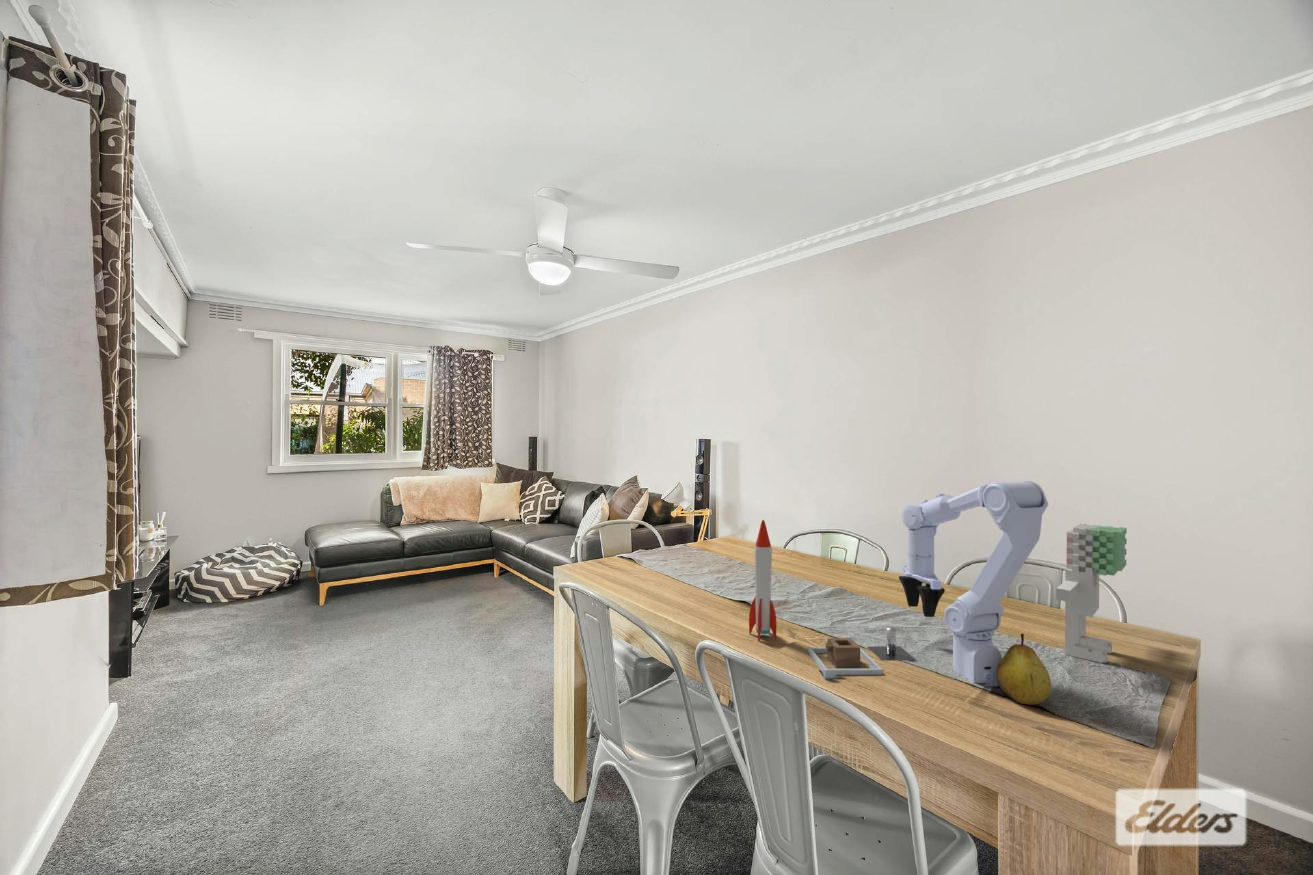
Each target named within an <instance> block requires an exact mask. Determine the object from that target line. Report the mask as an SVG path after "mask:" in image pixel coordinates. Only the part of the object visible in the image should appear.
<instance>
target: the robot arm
mask: <svg viewBox="0 0 1313 875" xmlns="http://www.w3.org/2000/svg"><path fill="white" fill-rule="evenodd" d="M979 507H981V508H985V509H986V510H987V513H989V515H990V516H991V518H992V519H993V522H994V523H995V524H996V526H997V527H998V529H999V530H1001V531H1002V535H1001V537H1000V539H999V541H998V542H997V543H996V546H995V547H994V548H993V551H992V553H991V554H990V556H989V557H988V559H987V561H986V562H985V564H984V566H982V568H981V571H980V573H979V574H978V576H977V578H976V579H975V581H974V583H973V584H972V586H971V588H970V590H968V591H967V592H965V593H963V594H961V595H960V596H958V597H957V598H956V599H955V601H954V602H953V603H952V604H948V605H947V606H946V607H945V609H944V615H943V616H944V617H943V619H944V622H945V624H946V627H947V628H948V629H949V630H950V633H951V634H952V669H953V671H954V672H955V673H957V674H958V675H962V676H963V677H965V678H966V679H968V680H969V682H971V683H974V684H985V685H984V687H1000V685H999V683H998V681H997V676H996V671H997V667H998V665H999V663H1000V661H1001V659H1002V658H1003V656H1002V653H1001V651H1000V650H999V648H998V647H996V646H995V644H994V642H993V638H992V637H994V636H995V631H996V630H998V629H999V627H1000V625H1001V618H1002V614H1003V612H1005V611H1004V610H1005V608H1004V606H1003V605H1002V604H1001V600H1002V599H1003V597H1004V595H1005V594H1006V592H1007V590H1008V589H1009V588H1010V586H1011V585H1012V583H1013V581H1014V580H1015V578H1016V577H1017V575H1018V574H1019V572H1020V570H1021V568H1022V567H1023V565H1024V564H1025V563H1026V560H1027V559H1028V558H1029V556H1030V555H1031V553H1032V551H1033V550H1034V548H1035V547H1036V545H1037V543H1039V540H1040V537H1041V530H1042V521H1043V515H1044V513H1045V512H1046V509H1047V508H1048V507H1049V501H1048V500H1047V497H1046V495H1045V492H1044V490H1043V488H1042V487H1041V486H1040V485H1039V484H1038V483H1037V482H1034V481H1031V480H1026V481H1018V482H1017V481H1015V482H997V481H996V482H994V481H993V482H990V483H989V484H981V485H980V486H978V487H975V488H972V489H970V490H968V491H966V492H964V493H961V494H958V495H957V496H952V495H950V494H945V493H938V494H936V495H935V498H933V499H930V500H929V499H925V500H924V499H923V500H922V501H921V503H920V504H912V503H911V504H908V505H907V506H905V507H904V509H903V511H902V514H901V515H902V516H901V517H902V522H903V524H904V525H905V527H906V528H907V565H902V575H901V576H898V579H899V581H900V583H901V585H902V587H903V590H904V594H905V599H906V603H907V606H908V607H919V603H920V598H921V605H922V614H923V617H925V618H934V617H935V614H936V612H937V608H938V605H939V602H940V599H941V598H942V596H943V595H944V594H945V588H943V587H942V580H941V579H939V578H938V576H937V575H936V573H935V536H936V534H937V528H938V527H939V525H941V524H944V523H947V522H952V521H954V520H957V519H958V518H959V517H960V516H961V514H962V512H965V511H968V510H972V509H975V508H979ZM923 584H924V585H923Z"/></svg>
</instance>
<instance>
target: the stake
mask: <svg viewBox="0 0 1313 875" xmlns="http://www.w3.org/2000/svg"><path fill="white" fill-rule="evenodd" d="M885 633H886V641H885V642H886V643H885V645H886V646H885V645H884V646H882V645H881V646H880V645H876V646H867V648H868V649H869V650H870V652H872V653H873V654H874V655H875V656H876V658H878V659H879V660H881V661H917V659H916V658H915V656H912V655H911V654H910V652H908V651H906V649H904V648H903V647H902V646H900V645H899V646H898V645H897V628H896V627H894V626H887V627H886V630H885Z"/></svg>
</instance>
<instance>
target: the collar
mask: <svg viewBox="0 0 1313 875" xmlns="http://www.w3.org/2000/svg"><path fill="white" fill-rule="evenodd" d="M826 640H827V641H826V642H827V643H825V647H826V650H827V653H826V654H827V659H828V660H829V661H830V663H831V664H832V665H833V666H834V669H861V655H860V648H861V646H860V645H859V644H857V642H855V640H853V639H852V638H850V637H845V638H844V637H841V638H839V637H837V638H835V637H834V638H833V637H832V638H830V637H829V638H827V639H826Z"/></svg>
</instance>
